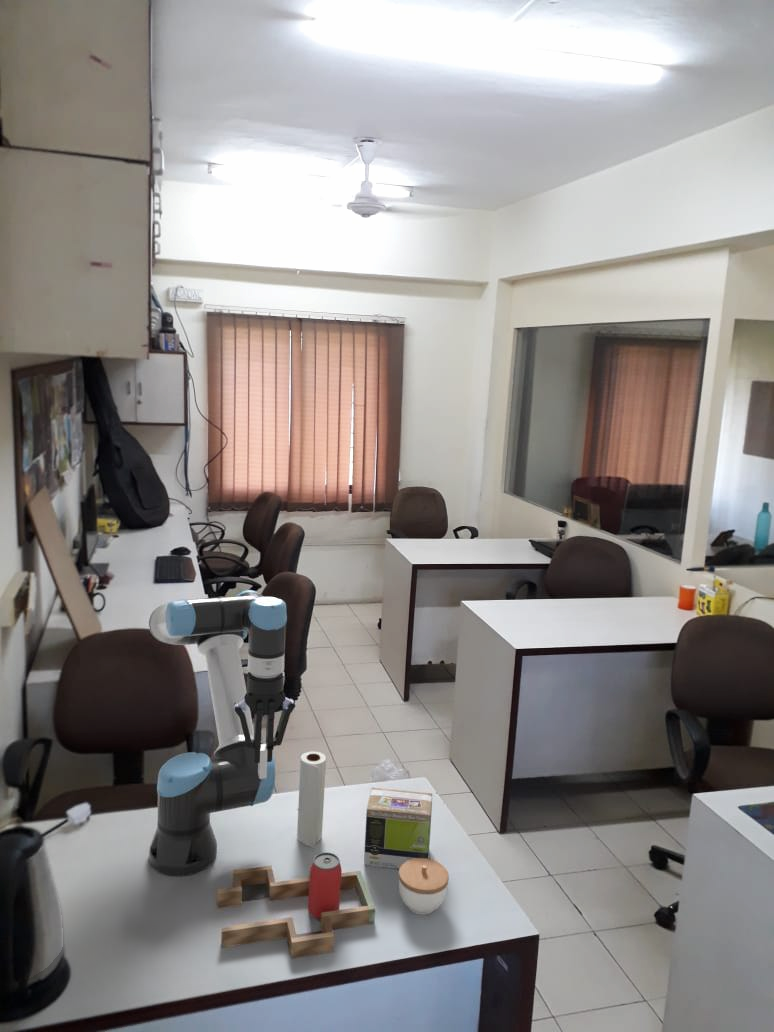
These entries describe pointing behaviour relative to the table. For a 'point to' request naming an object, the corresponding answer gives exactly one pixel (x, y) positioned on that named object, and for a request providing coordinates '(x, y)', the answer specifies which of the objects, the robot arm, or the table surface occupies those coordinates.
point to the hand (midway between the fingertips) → (262, 775)
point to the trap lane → (263, 886)
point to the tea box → (397, 827)
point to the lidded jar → (422, 885)
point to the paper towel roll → (311, 797)
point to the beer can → (324, 884)
